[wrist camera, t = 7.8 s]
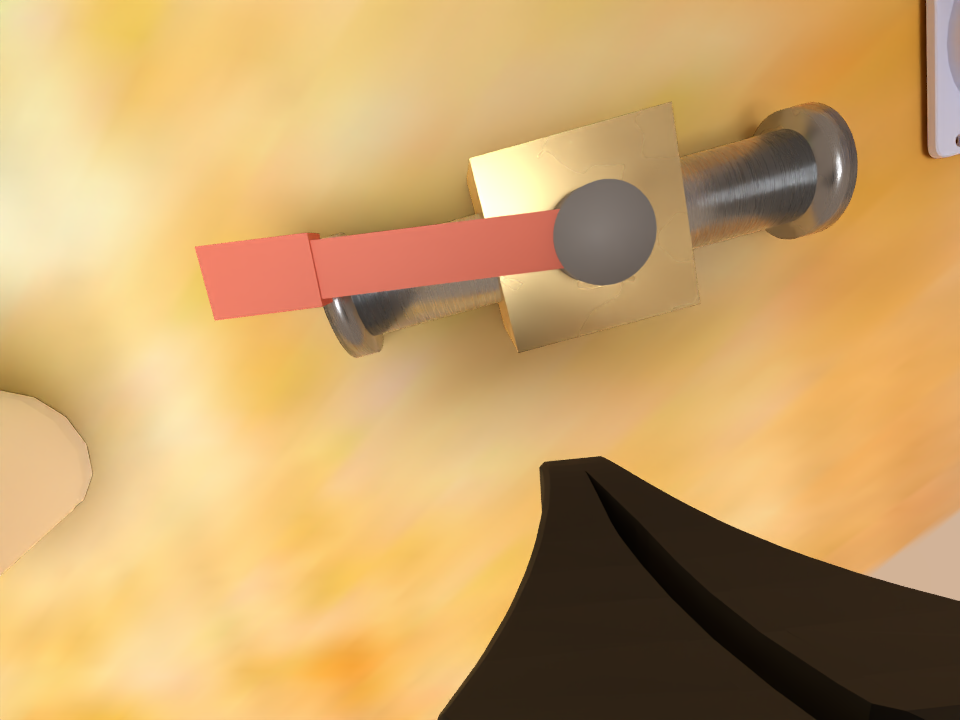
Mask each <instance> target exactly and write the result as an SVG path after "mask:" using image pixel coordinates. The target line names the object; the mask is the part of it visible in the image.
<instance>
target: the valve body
mask: <svg viewBox="0 0 960 720" xmlns="http://www.w3.org/2000/svg"><path fill="white" fill-rule="evenodd" d="M856 178H857V152H856V147H855V142H854V139H853V136H852V133H851V131H850V129H849V127H848V125H847V124H846V122H845V121H844V119H843V118H842V117H841V116H840V115H839V113H838V112H836V111H835V110H834V109H832V108H831V107H829V106H827V105H825V104H821V103H815V102H811V103H804V104H801V105H797V106H794V107H790V108H786V109H783V110H780V111H777V112H775V113H773V114H771V115H770V116H768V117H767V118H766V119H765V120H764V121H763V122H762V123H761V124H760V126H759V127H758V128H757V130H756V132H755V133H754V135H753V137H751V138H747V139H744V140H740V141H737V142H733V143H729V144H726V145H722V146H719V147H715V148H712V149H708V150H704V151H701V152H697V153H694V154H690V155H686V156H683V157H679V150H678V143H677V136H676V129H675V122H674V115H673V108H672V102H668V103H665V104H661V105H658V106H654V107H651V108H647V109H644V110H640V111H636V112H633V113H629V114H626V115H622V116H619V117H615V118H611V119H608V120H604V121H601V122H597V123H594V124H590V125H587V126H583V127H579V128H576V129H572V130H569V131H565V132H562V133H558V134H555V135H551V136H547V137H544V138H540V139H537V140H533V141H530V142H526V143H522V144H519V145H515V146H512V147H508V148H505V149H501V150H498V151H494V152H490V153H487V154H483V155H480V156H476V157H473V158H469V165H468V173H467V184H468V188H469V192H470V196H471V200H472V204H473V208H474V211H475V214H474V215H471V216H467V217H463V218H460V219H456V220H453V221H449V222H445V223H452V222H460V221H468V220H476V219H484V218H491V217H499V216H507V215H515V214H523V213H531V212H539V211H547V210H554V209H555V207H556V206H557V204H558V203H559V202H560V201H561V200H562V199H563V198H564V197H565V196H566V195H567V194H569V193H570V192H572V191H573V190H575V189H577V188H579V187H582V186H584V185H586V184H588V183H590V182H593V181H596V180H601V179H618V180H622V181H625V182H628V183H630V184H632V185H634V186H635V187H637V188H638V189H639V190H640V191H641V192H642V193H643V194H644V195H645V196H646V197H647V199H648V200H649V202H650V204H651V205H652V207H653V210H654V213H655V217H656V224H657V234H656V240H655V244H654V247H653V250H652V252H651V254H650V256H649V258H648V260H647V261H646V263H645V264H644V265H643V266H642V267H641V269H640V270H639V271H638V272H636V273H635V274H634V275H633V276H631V277H629V278H628V279H626V280H624V281H622V282H619V283H616V284H612V285H593V284H589V283H585V282H582V281H579V280H576V279H573V278H571V277H569V276H568V275H566V274H565V273H563V272H562V271H561V270H560V269H554V270H546V271H538V272H530V273H523V274H515V275H507V276H499V277H491V278H484V279H476V280H468V281H460V282H452V283H444V284H437V285H429V286H421V287H413V288H405V289H397V290H390V291H382V292H374V293H366V294H358V295H350V296H343V297H335V298H332V299H333V302H332V303H329V304H327V305H325V306H323V307H324V310H325V313H326V315H327V318H328V320H329V322H330V325H331V327H332V329H333V331H334V333H335V335H336V336H337V338H338V340H339V341H340V343H341V345H342V346H343V347H344V349H345V350H346V351H347V352H348V353H349V354H350V355H351V356H353V357H356V358H358V357H362V356H365V355H369V354H373V353H376V352H380V351H381V349H382V347H383V334H384V333H388V332H391V331H395V330H398V329H402V328H406V327H409V326H413V325H417V324H420V323H424V322H428V321H431V320H435V319H439V318H442V317H446V316H450V315H453V314H457V313H461V312H464V311H468V310H472V309H475V308H479V307H483V306H486V305H490V304H494V303H497V302H498V305H499V309H500V312H501V316H502V320H503V324H504V327H505V329H506V331H507V333H508V335H509V336H510V338H511V340H512V342H513V344H514V345H515V347H516V349H517V351H518V353H520V352H524V351H528V350H531V349H535V348H539V347H542V346H546V345H550V344H553V343H557V342H561V341H564V340H568V339H572V338H576V337H579V336H583V335H587V334H590V333H594V332H598V331H601V330H605V329H609V328H613V327H616V326H620V325H624V324H627V323H631V322H635V321H638V320H642V319H646V318H649V317H653V316H657V315H661V314H664V313H668V312H672V311H675V310H679V309H683V308H686V307H690V306H694V305H697V304H700V298H699V291H698V284H697V277H696V270H695V263H694V256H693V249H695V248H698V247H702V246H706V245H709V244H713V243H717V242H720V241H724V240H728V239H731V238H735V237H739V236H742V235H746V234H750V233H753V232H757V231H761V230H764V229H765V230H766V231H767V232H769V233H770V234H772V235H773V236H775V237H778V238H781V239H795V238H798V237H802V236H806V235H809V234H813V233H817V232H820V231H823V230H825V229H827V228H828V227H830V226H831V225H832V224H834V223H835V222H836V221H837V220H838V219H839V218H840V216H841V215H842V214H843V213H844V211H845V209H846V208H847V206H848V204H849V202H850V200H851V197H852V194H853V191H854V188H855V183H856ZM442 224H444V223H442ZM341 236H347V235H345V234H344V233H338V234H335V235H331V236H328V237H324V238H320V239H325V238H333V237H341Z"/></svg>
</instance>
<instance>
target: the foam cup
mask: <svg viewBox="0 0 960 720" xmlns="http://www.w3.org/2000/svg"><path fill="white" fill-rule="evenodd" d="M92 475H93V473H92V468H91V463H90V459H89V454H88V449H87V444H86V443H85V442H84V440H83V439H82V438H81V436H80V435H79V434H78V432H77V431H76V430H75V428H74V427H73V426H72V424H71V423H70V422H69V420H68V419H67V418H66V417H65V416H64V415H62V414H60V413H59V412H57V411H55V410H54V409H52V408H51V407H49V406H47V405H46V404H44V403H43V402H41V401H39V400H38V399H36V398H35V397H30V396H25V395H20V394H15V393H10V392H5V391H0V576H1V575H2V574H3V573H4V572H5V571H6V570H8V569H9V568H10V567H11V566H12V565H13V564H14V563H15V562H16V561H17V560H19V559H20V558H21V557H22V556H23V555H24V554H25V553H26V552H27V551H28V550H30V549H31V548H32V547H33V546H34V545H35V544H36V543H37V542H38V541H39V540H41V539H42V538H43V537H44V536H45V535H46V534H47V533H48V532H49V531H51V530H52V529H53V528H54V527H55V526H56V525H57V524H58V523H59V522H60V521H62V520H63V519H64V518H65V517H66V516H67V515H68V514H69V513H70V512H71V511H73V510H74V508H75V507H76V506H77V505H78V504H79V503H80V502H82V501H83V500H84V498H85V495H86V492H87V489H88V486H89V483H90V480H91V477H92Z"/></svg>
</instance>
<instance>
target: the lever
mask: <svg viewBox="0 0 960 720" xmlns="http://www.w3.org/2000/svg"><path fill="white" fill-rule="evenodd" d="M656 234H657V224H656V217H655V213H654V210H653V207H652V205H651V204H650V202H649V200H648V199H647V197H646V196H645V195H644V194H643V193H642V192H641V191H640V190H639V189H638V188H637V187H635V186H634V185H632V184H630V183H628V182H625V181H622V180H618V179H601V180H596V181H593V182H590V183H588V184H586V185H584V186H582V187H579V188H577V189H575V190H573V191H572V192H570V193H569V194H567V195H566V196H565V197H564V198H563V199H562V200H561V201H560V202H559V203H558V204H557V206H556V207H555V209H554V210H547V211H539V212H531V213H523V214H515V215H507V216H499V217H491V218H484V219H476V220H468V221H460V222H452V223H444V224H436V225H428V226H420V227H412V228H404V229H396V230H388V231H380V232H372V233H364V234H356V235H349V236H341V237H333V238H325V239H320V235H319V234H318V233H300V234H293V235H285V236H277V237H269V238H261V239H253V240H245V241H237V242H229V243H221V244H213V245H205V246H197V247H195V249H196V253H197V257H198V260H199V264H200V268H201V271H202V275H203V279H204V282H205V286H206V290H207V293H208V297H209V301H210V304H211V308H212V312H213V315H214V319H215V320H222V319H230V318H238V317H246V316H254V315H261V314H269V313H277V312H285V311H293V310H301V309H308V308H316V307H323V306H325V305H327V304H329V303H332V302H333V299H332V298H335V297H343V296H350V295H358V294H366V293H374V292H382V291H390V290H397V289H405V288H413V287H421V286H429V285H437V284H444V283H452V282H460V281H468V280H476V279H484V278H491V277H499V276H507V275H515V274H523V273H530V272H538V271H546V270H554V269H560V270H561V271H562V272H563V273H565V274H566V275H568V276H569V277H571V278H573V279H576V280H579V281H582V282H585V283H589V284H593V285H612V284H616V283H619V282H622V281H624V280H626V279H628V278H629V277H631V276H633V275H634V274H635V273H636V272H638V271H639V270H640V269H641V267H642V266H643V265H644V264H645V263H646V261H647V260H648V258H649V256H650V254H651V252H652V250H653V247H654V244H655V240H656Z"/></svg>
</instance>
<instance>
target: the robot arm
mask: <svg viewBox="0 0 960 720" xmlns="http://www.w3.org/2000/svg"><path fill="white" fill-rule="evenodd" d="M926 28H927V116H928V151H929V154H930V155H931V157H933V158H944V157H949V156H953V155H957V154H960V0H926ZM956 137H958V143H957V145H956V142H955V141H956ZM539 468H540V485H541V502H542V516H541V520H540V525H539V529H538V534H537V538H536V542H535V545H534V549H533V552H532V555H531V558H530V561H529V564H528V566H527V569H526V572H525V574H524V577H523V579H522V581H521V584H520V586H519V588H518V591H517V593H516V595H515V597H514V600H513V602H512V604H511V606H510V608H509V610H508V612H507V614H506V616H505V617H504V619H503V621H502V622H501V624H500V626H499V628H498V629H497V631H496V633H495V634H494V636H493V638H492V640H491V641H490V643H489V645H488V646H487V648H486V650H485V652H484V653H483V655H482V656H481V658H480V659H479V661H478V662H477V664H476V665H475V667H474V668H473V670H472V671H471V672H470V674H469V675H468V676H467V678H466V679H465V681H464V682H463V683H462V685H461V686H460V687H459V689H458V690H457V692H456V693H455V694H454V696H453V697H452V698H451V700H450V701H449V703H448V704H447V705H446V707H445V708H444V709H443V711H442V712H441V713H440V715H439V717H438V720H960V601H957V600H953V599H950V598H946V597H942V596H938V595H934V594H930V593H927V592H923V591H919V590H915V589H911V588H908V587H904V586H900V585H897V584H893V583H890V582H886V581H883V580H880V579H876V578H872V577H869V576H866V575H863V574H859V573H856V572H853V571H850V570H847V569H844V568H841V567H838V566H835V565H832V564H829V563H826V562H823V561H820V560H817V559H814V558H811V557H808V556H805V555H802V554H800V553H797V552H794V551H791V550H789V549H786V548H783V547H781V546H778V545H776V544H773V543H771V542H768V541H766V540H763V539H761V538H759V537H756V536H754V535H751V534H749V533H746V532H744V531H741V530H739V529H737V528H735V527H732V526H730V525H728V524H726V523H724V522H721V521H719V520H717V519H715V518H713V517H711V516H709V515H707V514H705V513H703V512H701V511H699V510H697V509H695V508H693V507H691V506H689V505H687V504H685V503H683V502H681V501H680V500H678V499H676V498H674V497H672V496H670V495H669V494H667V493H665V492H663V491H661V490H660V489H658V488H656V487H654V486H653V485H651V484H649V483H647V482H646V481H644V480H642V479H641V478H639V477H637V476H635V475H634V474H632V473H630V472H629V471H627V470H625V469H624V468H622V467H620V466H618V465H617V464H615V463H613V462H611V461H610V460H608V459H606V458H604V457H601V456H598V457H588V458H578V459H568V460H559V461H549V462H544V463H543V464H542V465H541V466H540V467H539Z"/></svg>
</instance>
